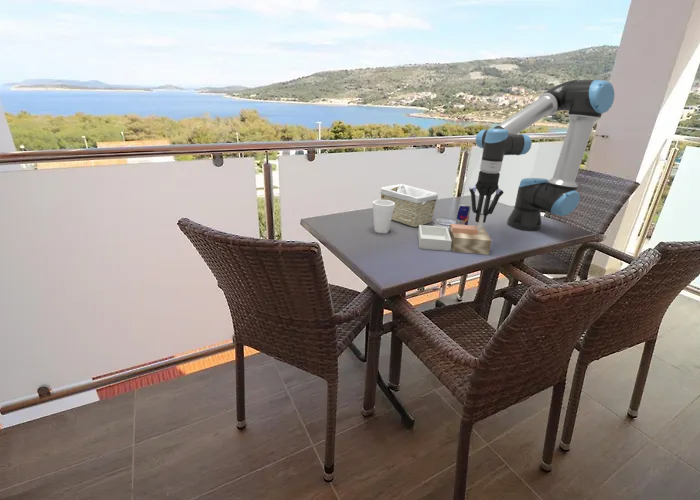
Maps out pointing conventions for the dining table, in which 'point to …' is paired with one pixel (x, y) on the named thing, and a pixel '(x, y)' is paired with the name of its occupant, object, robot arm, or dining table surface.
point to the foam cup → (382, 215)
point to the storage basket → (410, 204)
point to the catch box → (434, 238)
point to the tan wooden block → (471, 242)
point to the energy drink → (463, 214)
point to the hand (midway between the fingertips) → (478, 229)
